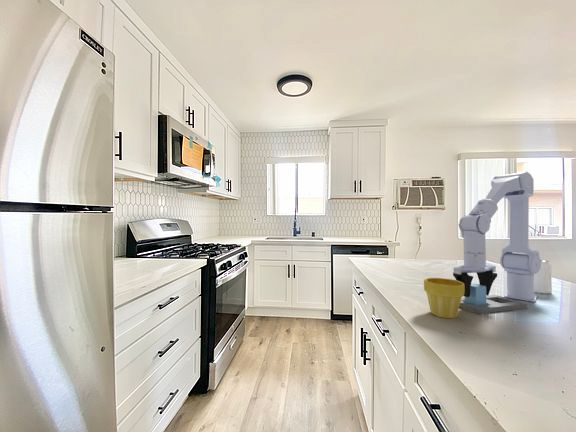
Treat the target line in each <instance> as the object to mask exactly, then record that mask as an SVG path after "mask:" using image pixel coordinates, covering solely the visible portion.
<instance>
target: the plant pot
mask: <svg viewBox="0 0 576 432" xmlns="http://www.w3.org/2000/svg"><path fill="white" fill-rule="evenodd" d="M423 289H424V291H425V292H426V297H427V301H428V305H429V309H430V310H429V311H430V313H431V314H432V315H434V316H435V317H439V318H445V319H455V318H457V317H458V313H459V309H460V307H459V305H460V301H461V298H464V297H465V296H464V292H465V285H464V283H463V282H460V281H457V280H456V279H451V278H444V277H426V278H424V279H423Z"/></svg>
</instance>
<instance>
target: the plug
mask: <svg viewBox="0 0 576 432" xmlns="http://www.w3.org/2000/svg"><path fill="white" fill-rule="evenodd" d="M486 296H487V295H486V286H483V285H480V283H479V284H478V283H471V287H470V296H469V297H465V296H464V298H465V302H466V303H469V304H472V305H475V306H481V305H486Z"/></svg>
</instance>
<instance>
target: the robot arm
mask: <svg viewBox="0 0 576 432" xmlns="http://www.w3.org/2000/svg"><path fill="white" fill-rule="evenodd" d="M490 184H491V189H490V190H489V191H488V194H486V196H485V198H484V199H480V200H478V201H477V203H476V204H475V206H474V207H473V208H472V209H471V211H470V212H469V213H468V215H464V216H462V217H461V218H460V220H459V223H458V228H459V230H460V233H461V237H462V239H463V265H459V266H454V267H453V272H452V275H453V277H454V280H457V281H460V282H463V283H464V285H465V292H464V296H463V297H464V298H465V297H469V296H470V287H471V284H472V281H473V279H474V276H473V275H469V274H475V273H476V275H477V278H478V282H479V285H483V286H486V296H487V295H490V292H491V289H492V285H493V283H494V281H495V280H496V279H497V277H498V273H497V271H496V265H493V264H492V265H491V264H487V253H486V252H487V251H486V249H487V248H486V246H487V245H486V233H488V231H489V230H490V228H491V222H492V218H493V216H494V215H495V214H496V213H497V211H498V210H499V207H498V203H499V202H500V201H501V200H502V199H506V200H508V201H509V245H507V246H505V247H503V248H502V250H501V254H500V257H499V263H500V266H501V268H502V269H504V272H506V289H507V291H506V293H505V295H504V296H503V297H505V298H508V299H512V300H520V301H525V302H526V301H527V302H530V303H531V302H532V303H533V302H534V303H536V300H537V296H538V295H537V294H535V292H534V274H536V273H537V272H538V271H539V270H540V268H541V260H542V259H540V258H541V257H540V253H539V250H537V249H536V248H534V247H532V246H531V245H530V244H529V228H530V227H529V217H530V216H529V215H530V214H529V208H530V207H529V206H530V203H529V202H530V198H531V197H533V196H534V189H535V187H534V178H533V176H532V174H531V173H529V172H528V171H522V172H516V173H510V174H509V173H508V174H502V175H498V174H497V175H495V176H494V177H493V178H492V180H491V182H490ZM489 232H490V231H489Z"/></svg>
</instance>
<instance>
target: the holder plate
mask: <svg viewBox="0 0 576 432" xmlns="http://www.w3.org/2000/svg"><path fill="white" fill-rule="evenodd" d="M495 301H496V302H495ZM497 301H498V302H497ZM461 307H462V309H464V308H465V309H464V310H466V309H467V310H466V311H469V310H470V311H469V312H472V313H474V312H475V313H474V314H477V315H481V313H483V314H490V313H489V312H492V313H499V312H498V311H500V312H508V311H509V312H510V311H515V310H524V309H525V310H526V309H528V303H526V302H522V301H518V300H517V299H513V298H507V297H504V296H502V295H501V296H500V295H498V294H489V295H486V305H481V306H475V305H472V304H469V303H466V302H465V297H461V301H460V305H459V308H461Z"/></svg>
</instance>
